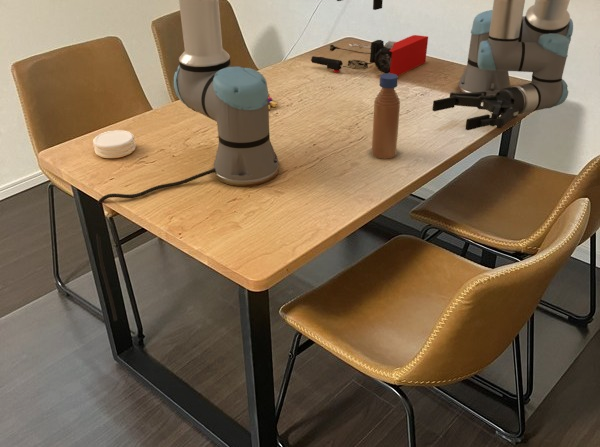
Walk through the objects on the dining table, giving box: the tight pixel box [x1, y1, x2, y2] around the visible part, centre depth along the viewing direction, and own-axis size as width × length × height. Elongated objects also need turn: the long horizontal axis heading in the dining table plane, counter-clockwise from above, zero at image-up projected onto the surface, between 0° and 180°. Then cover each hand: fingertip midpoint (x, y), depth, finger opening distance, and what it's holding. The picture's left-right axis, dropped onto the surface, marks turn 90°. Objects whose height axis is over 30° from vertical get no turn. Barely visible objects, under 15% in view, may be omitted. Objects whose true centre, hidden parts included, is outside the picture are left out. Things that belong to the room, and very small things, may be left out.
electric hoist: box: [310, 34, 429, 77], centre depth 208 cm, size 10×27×30 cm
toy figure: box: [268, 93, 278, 110], centre depth 181 cm, size 2×7×12 cm
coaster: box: [92, 129, 137, 159], centre depth 155 cm, size 10×10×4 cm
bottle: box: [371, 87, 401, 160], centre depth 148 cm, size 6×6×19 cm
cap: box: [379, 73, 399, 89], centre depth 143 cm, size 4×4×2 cm
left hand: (358, 4), depth 166 cm, fingers open, 13 cm apart
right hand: (449, 115), depth 156 cm, fingers open, 13 cm apart
